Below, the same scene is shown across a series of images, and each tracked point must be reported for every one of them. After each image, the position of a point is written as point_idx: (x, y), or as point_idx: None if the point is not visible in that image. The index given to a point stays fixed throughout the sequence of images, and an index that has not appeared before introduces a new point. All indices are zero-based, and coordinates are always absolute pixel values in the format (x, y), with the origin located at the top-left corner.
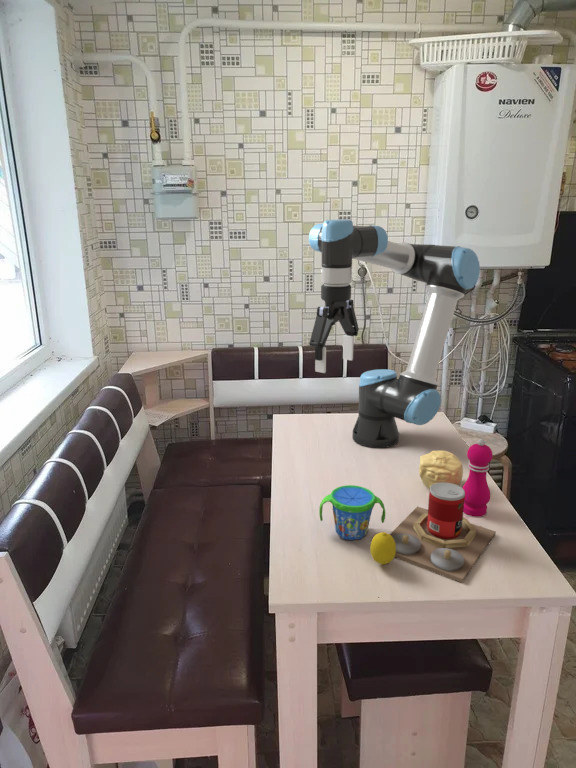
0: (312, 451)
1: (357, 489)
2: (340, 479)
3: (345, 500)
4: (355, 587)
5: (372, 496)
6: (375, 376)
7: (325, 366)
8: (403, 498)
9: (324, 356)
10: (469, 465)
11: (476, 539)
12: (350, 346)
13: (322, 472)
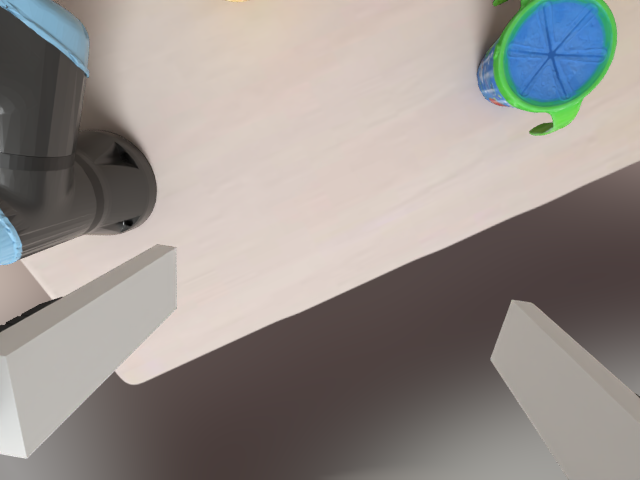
0: (234, 273)
1: (512, 57)
2: (316, 178)
3: (571, 65)
4: None
5: (542, 2)
6: None
7: (540, 324)
8: (332, 22)
9: (628, 389)
10: None
11: None
12: (106, 307)
13: (305, 221)
